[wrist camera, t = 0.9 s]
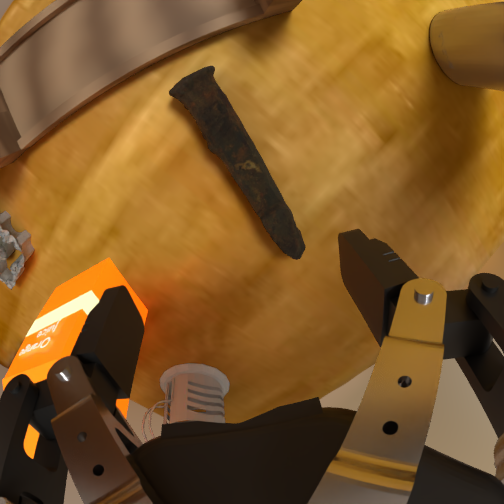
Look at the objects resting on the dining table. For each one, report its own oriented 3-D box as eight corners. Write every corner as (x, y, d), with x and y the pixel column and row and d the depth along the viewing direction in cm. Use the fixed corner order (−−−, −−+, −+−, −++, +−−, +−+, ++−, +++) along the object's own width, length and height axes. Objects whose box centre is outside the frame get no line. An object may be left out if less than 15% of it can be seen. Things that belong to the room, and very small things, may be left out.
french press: (202, 411, 43) (211, 563, 21) (136, 382, 38) (117, 552, 16) (244, 381, 40) (270, 556, 18) (172, 345, 36) (163, 553, 14)
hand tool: (170, 88, 23) (161, 86, 19) (212, 66, 23) (211, 59, 19) (268, 257, 32) (277, 282, 28) (303, 239, 31) (317, 262, 27)
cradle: (243, -75, 15) (255, -125, 7) (292, 10, 20) (326, -24, 13) (-21, 80, 18) (-77, 87, 10) (13, 162, 23) (-42, 189, 15)
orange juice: (149, 310, 33) (119, 481, 15) (94, 334, 34) (50, 479, 16) (108, 255, 29) (31, 424, 12) (54, 286, 30) (-22, 429, 13)
